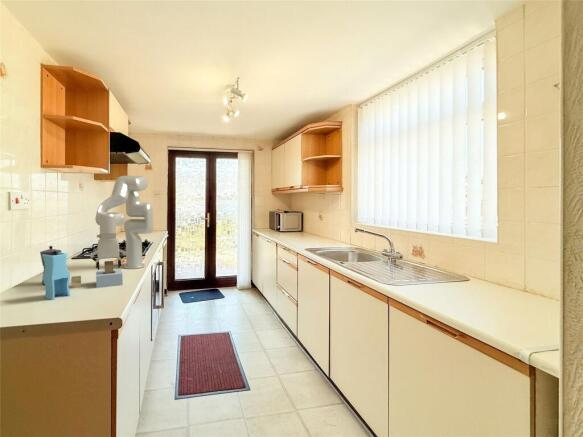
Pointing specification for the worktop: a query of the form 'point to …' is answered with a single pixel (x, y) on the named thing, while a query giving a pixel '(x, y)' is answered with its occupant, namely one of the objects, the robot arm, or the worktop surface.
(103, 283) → the socket block
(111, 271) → the walnut peg long
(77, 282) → the oak peg short
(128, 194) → the robot arm
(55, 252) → the moka pot
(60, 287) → the blue hollow-base tower
